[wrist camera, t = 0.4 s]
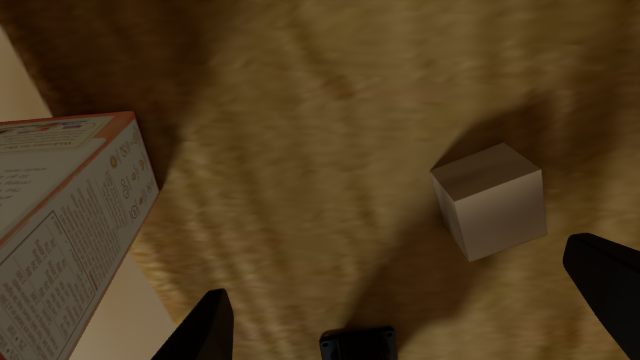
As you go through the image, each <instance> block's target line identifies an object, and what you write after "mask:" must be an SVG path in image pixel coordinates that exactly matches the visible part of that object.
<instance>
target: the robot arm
mask: <svg viewBox="0 0 640 360" xmlns="http://www.w3.org/2000/svg"><path fill="white" fill-rule="evenodd" d="M563 265H564V268H565V269H566V271H567V272H568V274H569V276H570V277H571V279H572V280H573V282H574V283H575V285H576V286H577V288H578V289H579V291H580V292H581V294H582V295H583V297H584V298H585V300H586V301H587V303H588V304H589V306H590V308H591V309H592V311H593V312H594V313H595V315H596V316H597V318H598V319H599V321H600V322H601V323H602V325H603V326H604V327H605V329H606V330H607V331H608V332H609V334H610V335H611V336H612V337H613V339H614V340H615V341H616V342H617V344H618V345H619V346H620V347H621V349H622V350H623V351H624V352H625V354H626V355H627V356H628V357H629V359H630V360H640V251H637V250H635V249H632V248H629V247H626V246H624V245H621V244H618V243H615V242H613V241H610V240H607V239H604V238H601V237H599V236H596V235H593V234H590V233H579V234H573V235H570V236H569V238H568V240H567V244H566V247H565V251H564V255H563ZM233 328H234V315H233V310H232V307H231V304H230V301H229V297H228V294H227V292H226V290H225V289H223V288H221V289H214V290H210V291H208V292H207V293H206V294H205V295H204V296H203V297H202V299H201V300H200V301H199V302H198V303H197V305H196V306H195V307H194V308H193V309H192V311H191V312H190V313H189V314H188V315H187V317H186V318H185V319H184V320H183V321H182V323H181V324H180V325H179V326H178V327H177V329H176V330H175V331H174V332H173V333H172V335H171V336H170V337H169V338H168V340H167V341H166V342H165V343H164V344H163V345H162V347H161V348H160V349H159V350H158V351H157V353H156V354H155V355H154V356H153V357H152V359H151V360H232V351H233ZM319 344H320V350H321V356H322V360H396V344H395V331H394V329H393V328H392V327H385V328H379V329H372V330H366V331H360V332H353V333H347V334H341V335H334V336H328V337H323V338H321V339H320V340H319Z"/></svg>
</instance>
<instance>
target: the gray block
mask: <svg viewBox="0 0 640 360" xmlns="http://www.w3.org/2000/svg"><path fill="white" fill-rule="evenodd" d="M430 174H431V178H432V182H433V185H434V189H435V192H436V196H437V200H438V203H439V207H440V211H441V214H442V218H443V221H444V225H445V227H446V229H447V230H448V232H449V233H450V235H451V236H452V238H453V239H454V241H455V242H456V244H457V245H458V247H459V248H460V249H461V251H462V252H463V254H464V255H465V257H466V258H467V260H468V261H469V262H472V261H475V260H478V259H480V258H483V257H486V256H489V255H492V254H494V253H497V252H500V251H503V250H506V249H508V248H511V247H514V246H517V245H520V244H523V243H525V242H528V241H531V240H534V239H537V238H539V237H542V236H545V235H547V226H546V215H545V204H544V193H543V182H542V171H541V169H540V168H539V167H537V166H536V165H535V164H533V163H532V162H530V161H529V160H528V159H526V158H525V157H523V156H522V155H521V154H519V153H518V152H516V151H515V150H514V149H512V148H511V147H509V146H508V145H507V144H505V143H504V142H503V143H500V144H498V145H495V146H492V147H490V148H487V149H485V150H482V151H479V152H477V153H474V154H472V155H469V156H467V157H464V158H461V159H459V160H456V161H454V162H451V163H448V164H446V165H443V166H441V167H438V168H435V169H433V170H430Z"/></svg>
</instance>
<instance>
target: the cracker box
mask: <svg viewBox="0 0 640 360" xmlns="http://www.w3.org/2000/svg"><path fill="white" fill-rule="evenodd" d="M159 195H160V191H159V188H158V185H157V182H156V179H155V175H154V172H153V169H152V166H151V163H150V160H149V157H148V154H147V151H146V148H145V144H144V141H143V138H142V135H141V132H140V129H139V126H138V123H137V120H136V116H135V113H134V112H133V111H124V112H112V113H101V114H88V115H76V116H64V117H53V118H42V119H33V120H20V121H8V122H0V360H69V358H70V356H71V354H72V352H73V351H74V349H75V347H76V345H77V343H78V342H79V340H80V338H81V336H82V334H83V333H84V331H85V329H86V327H87V326H88V324H89V322H90V320H91V318H92V316H93V315H94V313H95V311H96V309H97V307H98V305H99V304H100V302H101V300H102V298H103V297H104V295H105V293H106V291H107V289H108V287H109V286H110V284H111V282H112V280H113V278H114V276H115V274H116V272H117V270H118V269H119V267H120V266H121V264H122V262H123V260H124V258H125V257H126V255H127V253H128V251H129V249H130V247H131V246H132V244H133V242H134V240H135V239H136V237H137V235H138V233H139V231H140V229H141V228H142V226H143V224H144V222H145V220H146V219H147V217H148V215H149V213H150V211H151V209H152V207H153V206H154V204H155V202H156V200H157V198H158V196H159Z"/></svg>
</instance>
